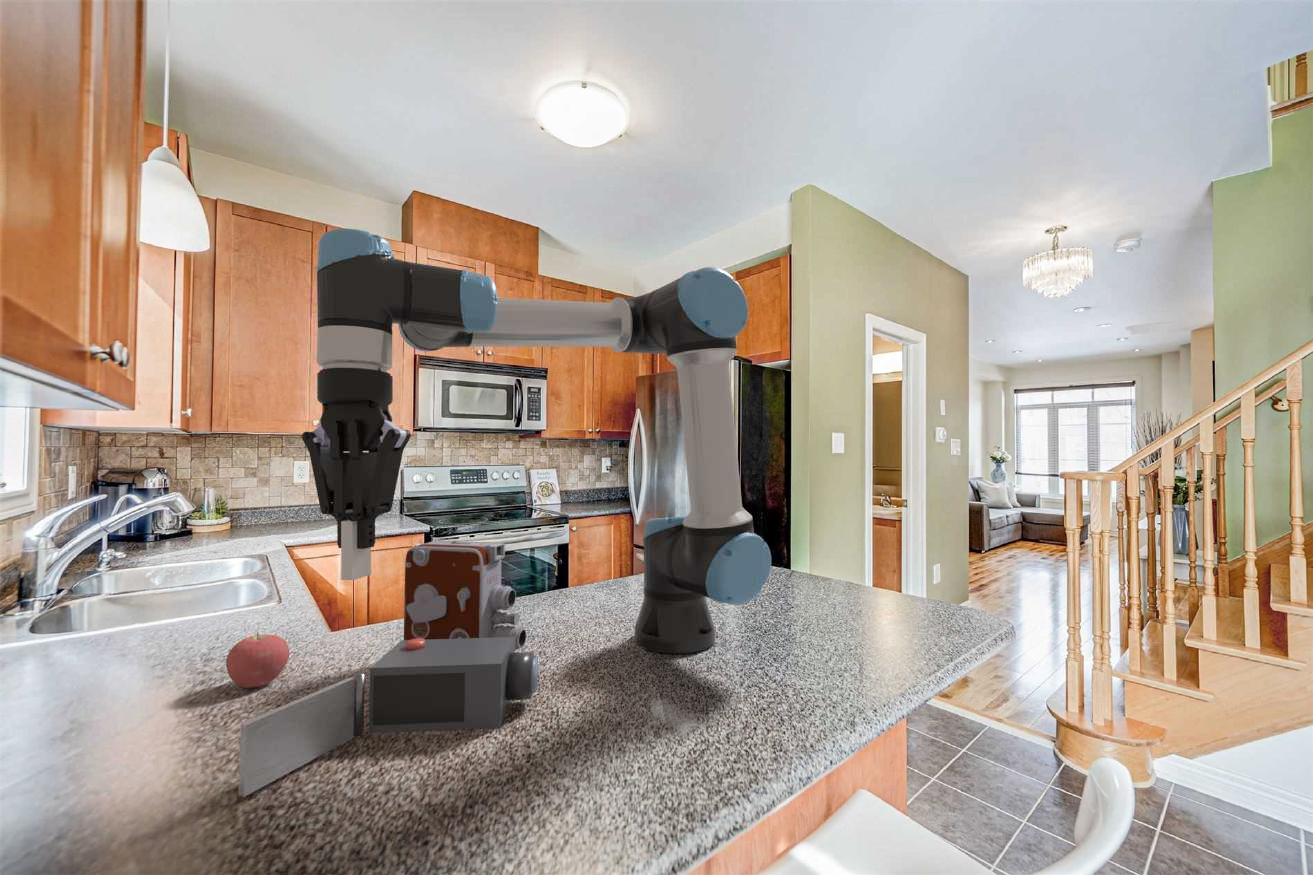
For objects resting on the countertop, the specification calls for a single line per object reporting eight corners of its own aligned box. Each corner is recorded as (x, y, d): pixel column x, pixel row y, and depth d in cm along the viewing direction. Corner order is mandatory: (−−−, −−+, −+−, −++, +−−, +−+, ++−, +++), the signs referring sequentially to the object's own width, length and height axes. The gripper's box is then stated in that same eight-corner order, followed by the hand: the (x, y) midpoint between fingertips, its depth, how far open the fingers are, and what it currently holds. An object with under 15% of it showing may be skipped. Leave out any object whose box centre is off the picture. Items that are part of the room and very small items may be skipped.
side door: (354, 729, 65) (356, 670, 66) (366, 732, 65) (367, 672, 65) (234, 793, 53) (236, 720, 53) (246, 797, 52) (248, 723, 53)
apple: (213, 691, 77) (215, 636, 77) (265, 672, 84) (267, 621, 84) (247, 699, 75) (249, 642, 75) (298, 679, 81) (299, 626, 82)
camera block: (539, 691, 77) (540, 630, 77) (529, 726, 67) (529, 656, 67) (400, 697, 75) (401, 634, 76) (368, 733, 65) (369, 661, 66)
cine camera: (506, 679, 81) (508, 549, 82) (395, 669, 85) (398, 544, 86) (532, 657, 90) (533, 540, 91) (431, 649, 94) (432, 536, 95)
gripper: (426, 372, 63) (427, 571, 62) (336, 377, 66) (336, 568, 65) (379, 362, 55) (380, 588, 55) (280, 368, 58) (279, 582, 58)
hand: (356, 577), depth 60 cm, fingers closed
